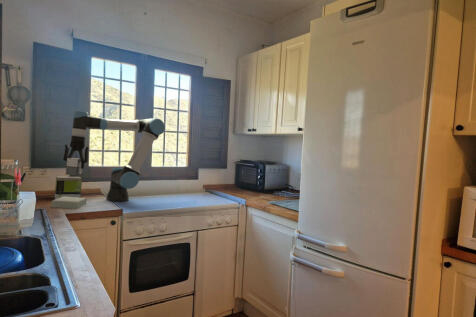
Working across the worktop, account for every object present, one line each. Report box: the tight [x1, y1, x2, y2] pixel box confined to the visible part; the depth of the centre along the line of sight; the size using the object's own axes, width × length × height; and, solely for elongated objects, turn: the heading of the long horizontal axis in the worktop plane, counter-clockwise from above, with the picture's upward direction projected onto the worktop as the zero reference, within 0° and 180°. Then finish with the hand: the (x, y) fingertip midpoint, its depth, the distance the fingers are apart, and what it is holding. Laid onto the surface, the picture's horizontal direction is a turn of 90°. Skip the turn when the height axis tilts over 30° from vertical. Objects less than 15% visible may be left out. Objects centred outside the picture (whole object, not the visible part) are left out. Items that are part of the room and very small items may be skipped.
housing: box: [65, 157, 84, 177], centre depth 187 cm, size 12×6×10 cm, turn 8°
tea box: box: [54, 176, 83, 200], centre depth 205 cm, size 15×10×15 cm
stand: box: [50, 197, 87, 210], centre depth 183 cm, size 14×16×4 cm
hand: (74, 173), depth 186 cm, fingers closed on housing, 6 cm apart
